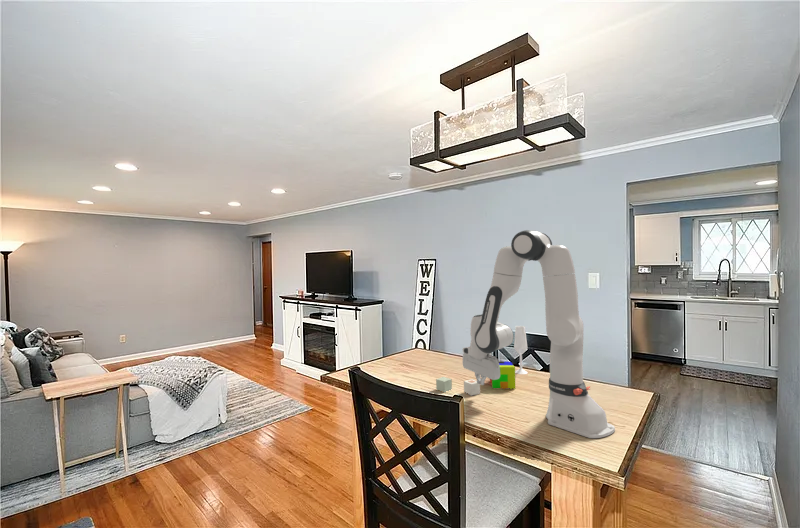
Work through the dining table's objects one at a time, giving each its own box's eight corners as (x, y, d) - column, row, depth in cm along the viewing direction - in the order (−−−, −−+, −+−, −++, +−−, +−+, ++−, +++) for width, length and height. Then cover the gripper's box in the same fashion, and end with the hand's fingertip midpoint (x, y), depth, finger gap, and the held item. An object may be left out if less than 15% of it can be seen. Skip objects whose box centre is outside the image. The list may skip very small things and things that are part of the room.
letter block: (480, 393, 161) (479, 381, 161) (471, 396, 159) (471, 383, 159) (472, 390, 166) (472, 379, 166) (464, 392, 163) (463, 380, 163)
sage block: (451, 390, 167) (451, 379, 167) (444, 392, 164) (444, 381, 164) (443, 387, 171) (443, 376, 171) (436, 390, 167) (436, 379, 167)
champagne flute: (529, 371, 193) (528, 326, 193) (525, 374, 187) (525, 328, 187) (516, 369, 197) (515, 325, 197) (512, 373, 191) (511, 327, 191)
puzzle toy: (510, 382, 177) (510, 361, 177) (515, 389, 167) (515, 367, 167) (489, 381, 178) (489, 361, 178) (493, 388, 168) (492, 367, 168)
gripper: (504, 356, 149) (503, 390, 149) (471, 346, 167) (470, 376, 167) (492, 358, 146) (492, 393, 146) (460, 347, 164) (459, 378, 164)
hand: (480, 384), depth 156 cm, fingers closed
